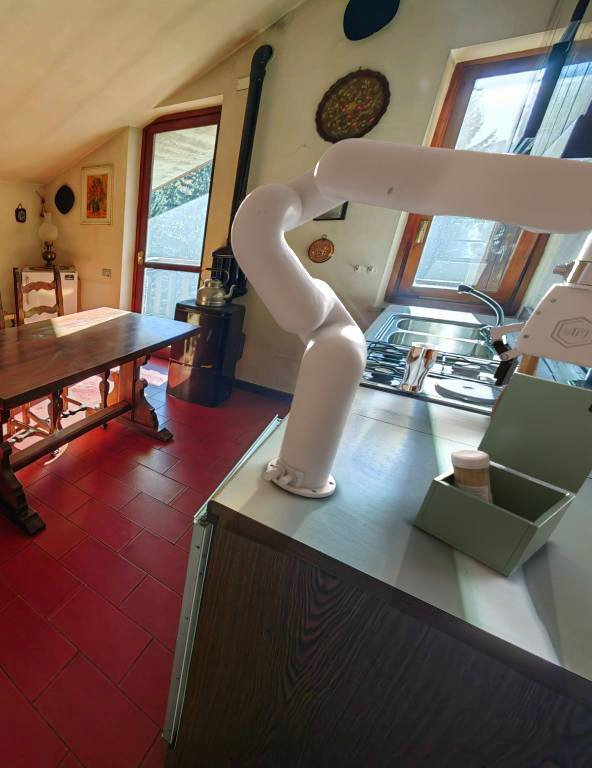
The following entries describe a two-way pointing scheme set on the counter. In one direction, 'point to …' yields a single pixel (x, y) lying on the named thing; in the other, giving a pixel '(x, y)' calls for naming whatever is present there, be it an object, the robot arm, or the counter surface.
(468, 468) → the sprinkles bottle
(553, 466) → the lid
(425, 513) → the green box
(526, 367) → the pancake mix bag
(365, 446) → the counter surface
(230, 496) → the counter surface
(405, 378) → the beer glass
